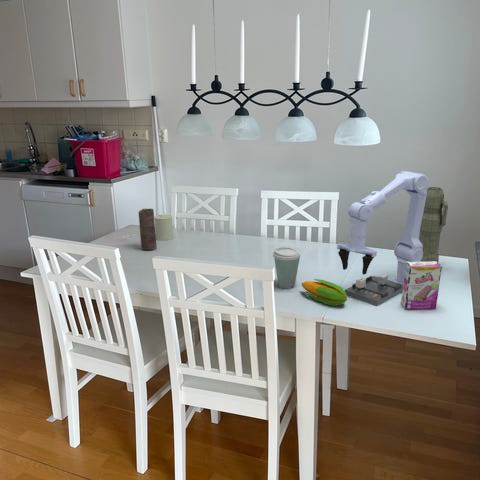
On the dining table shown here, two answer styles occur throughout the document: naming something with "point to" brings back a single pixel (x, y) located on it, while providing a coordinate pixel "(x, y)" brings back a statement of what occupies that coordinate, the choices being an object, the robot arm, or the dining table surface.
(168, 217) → the can
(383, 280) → the fader
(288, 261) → the disposable coffee cup
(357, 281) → the fader tab
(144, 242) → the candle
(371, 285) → the console
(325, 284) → the corn
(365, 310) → the dining table surface
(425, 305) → the candy bar box
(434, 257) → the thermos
